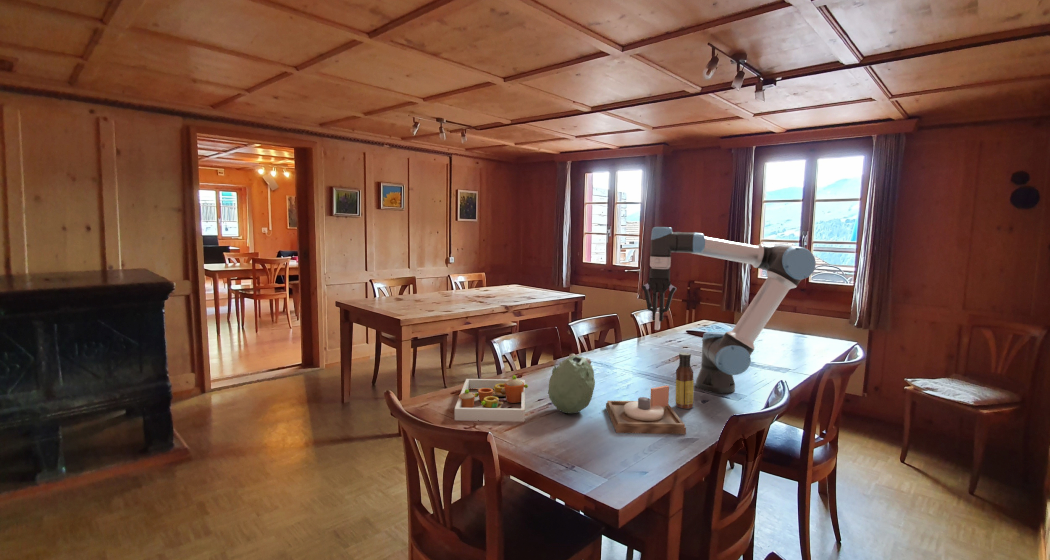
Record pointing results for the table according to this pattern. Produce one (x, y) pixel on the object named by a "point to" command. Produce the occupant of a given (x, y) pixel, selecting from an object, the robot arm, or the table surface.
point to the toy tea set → (508, 389)
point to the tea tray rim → (488, 413)
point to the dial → (649, 405)
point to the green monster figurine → (572, 384)
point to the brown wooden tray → (630, 425)
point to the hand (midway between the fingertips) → (657, 329)
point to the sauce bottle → (684, 382)
